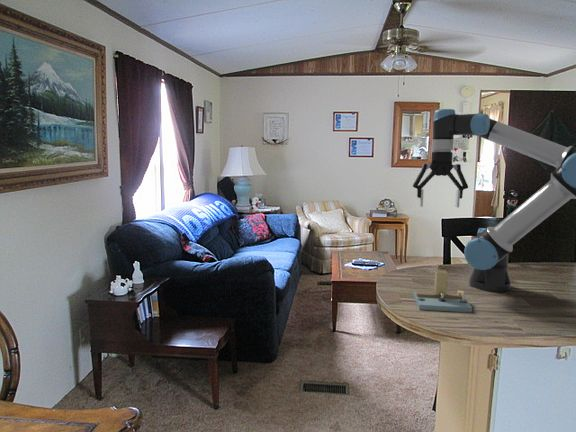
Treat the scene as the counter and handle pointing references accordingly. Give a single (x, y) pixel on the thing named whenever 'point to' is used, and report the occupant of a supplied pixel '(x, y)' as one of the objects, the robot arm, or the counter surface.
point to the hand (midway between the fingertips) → (438, 206)
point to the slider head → (440, 283)
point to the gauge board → (442, 302)
